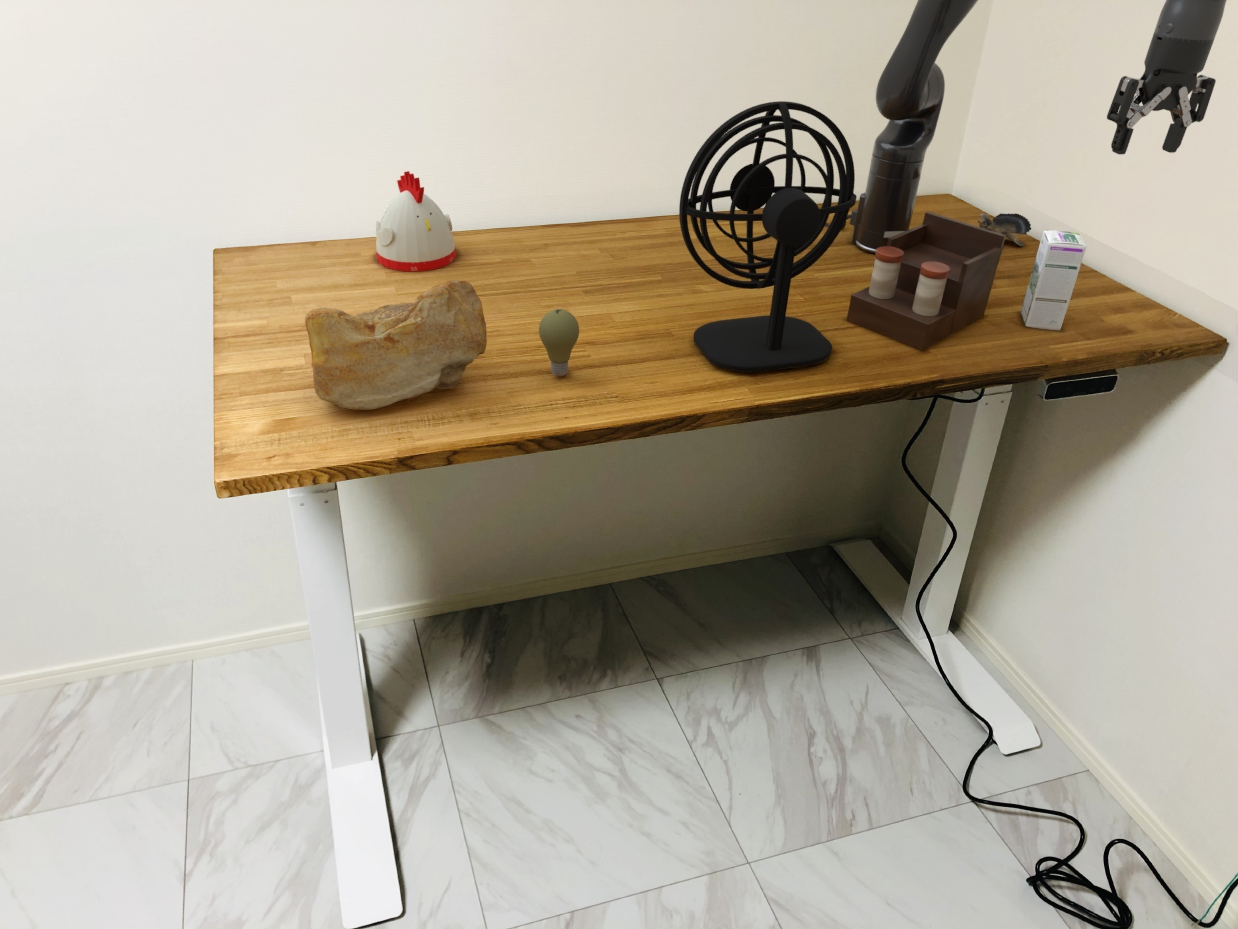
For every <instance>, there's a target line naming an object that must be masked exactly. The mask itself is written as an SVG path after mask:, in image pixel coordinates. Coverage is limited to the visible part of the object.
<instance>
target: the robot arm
mask: <svg viewBox="0 0 1238 929" xmlns="http://www.w3.org/2000/svg"><path fill="white" fill-rule="evenodd" d="M978 1H979V0H917V1H916V4H915V6H914V9H913V11H912V13H911V15H910V18H909V20H908V23H907V24H906V28H905V29H904V31H903V33H902V36H901V37H900V39H899V41H898V43H897V44H896V46H895V48H894V50H893V52H892V54H891V56H890V58H889V59H888V61H887V63H886V65H885V67H884V68H883V70H882V73H881V74H880V77H879V78H878V81H877V84H876V88H875V105H876V108H877V110H878V112H879V113H880V115H881V116H882V117H883V118H885V119H886V120H888V122H887V124H886V126H885V127H884V129H883V130H882V131H881V132H880V133H879V134H878V135H877V136H876V138H875V140H874V143H873V148H872V154H871V158H870V164H869V171H868V176H867V181H866V185H865V192H863V193H861V194H860V195H859V199H858V204H857V209H854V210H852V211H851V214H848V215H847V218H846V220H845V222H844V225H843V227H842V228H841V230H843V229H845V228H846V225H847V220H849V225H851V226H853V232H852V237H851V244H854V245H855V246H856V247H857V248H858V249H860V250H862V251H864V252H866V253H871V254H874V255H875V254H876V249H877V248H879V247H883V246H887V243H888V238H890V237H892V236H895V235H897V234H900V233H902V232H905V231H907V230H910V227H911V223H912V218H913V213H914V209H915V204H916V200H917V195H918V190H919V186H920V180H921V178H922V172H923V167H924V163H925V158H926V153H927V150H928V148H929V147H930V145H931V143H932V142H933V139H934V137H935V134H936V130H937V125H938V121H939V119H940V115H941V110H942V106H943V102H944V98H945V92H946V91H945V89H946V81H945V76H944V73H943V71H942V69H941V67H940V66H939V65H938V63H936V61H937V59H938V57H939V55H940V53H941V51H942V49H943V48H944V45H945V44H946V42H947V41H948V40H949V38H950V37H951V36H952V34H953V33H954V32H955V30H956V29H957V28H958V27H959V25H961V23H962V22H963V21H964V20H965V18H966V17H967V16H968V14H970V12H971V11H972V10H973V9H974V7H975V6H976V5H977V3H978ZM1226 4H1227V0H1165V2H1164V4H1163V6H1162V8H1161V11H1160V13H1159V16H1158V19H1157V22H1156V25H1155V27H1154V31H1153V34H1152V38H1151V40H1150V43H1149V46H1148V49H1147V52H1146V55H1145V58H1144V62H1143V63H1144V72H1143V73H1142V75H1141V77H1140V78H1136V77H1135V78H1134V77H1131V76H1127V75H1124V76H1122V77H1121V78H1120V79H1119V82H1118V85H1117V88H1116V90H1115V93H1114V96H1113V98H1112V100H1111V104H1110V106H1109V109H1108V112H1107V115H1106V119H1107V120H1108V121H1111V122H1113V123H1115V124H1116V129H1115V132H1114V135H1113V138H1112V141H1111V144H1110V148H1111V151H1112V152H1113V153H1115V154H1117V155H1125V154H1126V152H1127V150H1128V147H1129V144H1130V142H1131V139H1132V135H1133V133H1134V130H1135V129H1134V128H1133V127H1134V126H1135V125H1136V124H1137V123H1138V122H1139V121H1140V120H1141V119H1142V118H1145V117H1147V116H1148V115H1149V114H1151V112H1159V111H1162V110H1165V111H1167V112H1169V113H1170V116H1171V120H1172V123H1170V124H1169V127H1168V129H1167V133H1166V135H1165V138H1164V140H1163V144H1162V146H1161V148H1162V151H1164V152H1166V153H1170V154H1175V153H1176V152H1177V150H1178V149H1179V148H1180V146H1182V142H1183V139H1184V137H1185V134H1186V132H1187V129H1188V127H1190V126H1191V124H1194V123H1196V122H1197V123H1200V122H1203V120H1204V119H1205V116H1206V113H1207V110H1208V107H1209V104H1210V101H1211V99H1212V98H1211V97H1212V94H1213V92H1214V88H1215V85H1216V83H1217V81H1216V79H1215V78H1213V77H1210V76H1207V75H1204V74H1199V73H1201V72H1203V71H1204V69H1205V67H1206V63H1207V61H1208V57H1209V56H1210V52H1211V50H1212V47H1213V44H1214V41H1215V38H1216V36H1217V33H1218V31H1219V28H1220V25H1221V22H1222V19H1223V16H1224V12H1225V8H1226ZM1198 74H1199V75H1198ZM1189 94H1190V97H1189V96H1188V95H1189ZM1140 104H1142V105H1140ZM829 225H830V224H828V223H826V224H825V226H824V227H827V228H828V227H829Z"/></svg>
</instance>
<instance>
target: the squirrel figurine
mask: <svg viewBox="0 0 1238 929" xmlns="http://www.w3.org/2000/svg"><path fill="white" fill-rule="evenodd" d="M977 222H978V224H979V227H980V228H984V229H987V230H990V231H994V232H997V233H1000V234H1003V235H1006V237H1005V238H1007V239H1009V240H1011V241H1012V242H1014V244H1016V245H1017V246H1019V247H1024V246H1025V245H1024V243H1022V242H1021V241H1020V240H1019V239H1018V237H1017V236H1016V235H1015V234H1018V235H1027V233H1029V232H1030V231H1031V230H1032V227H1031V226H1032V224H1031V223H1030V221H1029V219H1028V218H1027V217H1025V216H1024V215H1022V214H1020V213H999V214H997V215H996V216H994V217H993V218H992V219H991V218H990V217H989V216H988V214H987V213H981V214H980V220H979V219H977Z"/></svg>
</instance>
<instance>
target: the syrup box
mask: <svg viewBox="0 0 1238 929" xmlns="http://www.w3.org/2000/svg"><path fill="white" fill-rule="evenodd" d="M1086 249H1087V245H1086V243H1085V241H1084V239H1083V238H1082V235H1081V233H1078V232H1073V231H1066V230H1043V232H1042V235H1041V238H1040V242H1039V246H1038V249H1037V252H1036V256H1035V260H1034V263H1033V267H1032V271H1031V273H1030V277H1029V279H1028V280H1029V281H1028V284H1027V288H1026V291H1025V295H1024V298H1023V301H1022V306H1021V309H1020V316H1021V318H1022V321H1023V323H1024V326H1025V327H1028V328H1033V329H1041V330H1050V331H1061V329H1062V326H1063V323H1064V320H1065V317H1066V314H1067V311H1068V308H1069V305H1070V302H1071V298H1072V295H1073V292H1074V289H1075V285H1076V282H1077V278H1078V275H1079V272H1080V269H1081V266H1082V262H1083V259H1084V256H1085V252H1086Z"/></svg>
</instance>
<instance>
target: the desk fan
mask: <svg viewBox="0 0 1238 929" xmlns="http://www.w3.org/2000/svg"><path fill="white" fill-rule="evenodd" d="M777 111H779V113H780V115H779V114H775V113H776V112H777ZM790 111H798V112H801V113H805V114H808V115H811V116H813V117H815V118H816V119H818V120H819V121H820V122H822V123H823V124H824V125H825V126H826V127H827V128H828V129H829V130H830V132H831V133H832V134H833V135H834V137H835V139H836V141H837V143H838V145H839V147H840V150H841V153H842V156H841V154H840V152H839V150H838V149H837V148H836V146H835V144H834V143H833V142H832V141H831V140H830V139H829V138H828V137H827V136H826V135H824V134H823V133H821V132H819V130H817V129H815V128H813V127H810V126H809V125H807V124H806V123H804V122H802V121H800V120H799V119H796V118H794V117H791V114H790ZM763 113H765V114H764V115H761V116H757V115H760V114H763ZM754 116H757V117H754ZM753 117H754V118H753ZM750 118H751V119H750ZM747 119H748V120H747ZM745 120H746V121H745ZM760 124H761V125H760ZM758 125H760V127H758V128H755V129H753V130H751V131H749V132H748V133H746V134H744V135H743V136H742V137H740V138H739V139H737V140H736V141H734V143H733V144H731V145H730V146H729V147H728V148H727V149H726V150H725V151H724V153H722V155H721V156H720V157H719V159H717V161H716V163H715V165H714V166H713V167H712V169H711V171H710V173H709V175H708V177H707V179H706V181H705V184H704V187H703V190H702V192H701V193H702V194H698V193H699V188H700V184H701V182H702V179H703V176H704V174H705V172H706V170H707V168H708V166H709V164H710V163H711V161H712V160H713V159H714V157H715V156H716V154H717V153H718V152H719V151H720V149H721V148H722V147H723V146H724V145H725V144H726V143H727V142H729V141H730V140H731V139H732V138H734V137H735V136H736V135H738V134H740V133H741V132H743V131H745V130H747V129H749V128H751V127H755V126H758ZM779 130H784V139H785V142H784V141H783V140H780V139H778V138H774V137H767V133H770V132H774V131H779ZM793 130H796V131H797V130H798V131H802V132H805V133H808V134H809V135H810V136H811V137H812V138H813V139H814V141H815V142H816V143H817V145H818V148H819V149H820V151H821V153H822V156H823V159H824V162H825V168H826V169H825V170H826V171H825V170H824V169H823V168H822V166H821V165H820V164H818V162H816V161H815V160H813V159H811V158H810V157H808V156H806V155H803V154H800V153H799V154H798V152H797V151H796V150H795V149H794V132H793ZM764 143H774V144H778V145H781V146H783V147H785V153H781V154H777V155H773V156H771V157H769V158H766V159H764V160H763V161H761V156H762V152H763V148H764ZM753 144H756V145H755V149H754V153H753V160H752V163H748V164H746V165H744V166H743V167H742V168H740V169H739V170H738V171H737V172H736V173H735V175H733V178H732V179H731V183H730V186H729V189H724V190H718V191H714V188H715V183H716V181H717V178H718V176H719V174H720V172H721V170H722V169H723V167H724V166H725V165H726V163H727V162H728V161H729V160H730V159H731V157H733V156H734V155H735V154H737V153H738V152H739V151H740V150H742V149H744V148H746V147H749V146H750V145H753ZM831 155H832V156H831ZM832 157H833V159H834V161H835V165H836V168H837V172H838V176H839V177H838V178H839V179H838V180H839V188H835V187H834V186H835V185H834V184H835V172H834V170H835V169H834V164H833V159H832ZM842 157H843V158H842ZM794 159H795V160H796V163H797V165H798V168H799V173H800V185H793V177H794V176H793V173H794ZM781 160H785V176H784V177H785V178H784V185H776V183H775V182H776V181H775V176H774V174H773V172H772V170H771V168H770V167H769V166H768V165H771V163H774V162H777V161H781ZM843 160H844V161H843ZM803 161H806V162H807V163H810V164H811V165H812V166H814V167H815V168H816V169H817V171H818V172H819V174H820V175H821V177H822V179H823V182H824V184H825V187H824V186H811V185H810V186H809V185H807V186H806V184H807V183H806V180H807V179H806V171H805V170H806V169H805V167H804V162H803ZM855 175H856V174H855V163H854V158H853V155H852V151H851V147H850V145H849V143H848V141H847V138H846V136H845V135H844V133H843V132H842V131H841V129H840V128H839V127H838V126H837V124H836V123H835V122H834V121H832V120H831V118H829V117H828V116H827V115H826V114H824V113H822V112H821V111H819V110H817V109H815V108H813V107H811V106H809V105H806V104H803V103H800V102H794V101H786V100H785V101H782V100H781V101H780V100H779V101H770V102H765V103H760V104H756V105H754V106H751V107H748V108H746V109H744V110H741V111H740V112H738V113H736V114H735V115H733V116H731V117H729V118H728V119H727V120H726V121H725V122H723V123H722V124H721V125H719V126H718V127H717V128H716V129H715V130H714V131H713V132H712V133H711V134H710V135H709V136H708V137H707V138H706V140H705V141H704V143H703V144H702V145H701V146H700V148H699V149H698V151H697V152H696V153H695V155H694V157H693V159H692V161H691V163H690V165H689V167H688V169H687V172H686V175H685V177H684V179H683V183H682V187H681V192H680V198H679V206H678V207H679V208H678V209H679V211H678V216H679V224H680V225H679V226H680V231H681V236H682V239H683V242H684V244H685V247H686V249H687V250H688V253H689V255H690V256H691V258H692V259H693V260H694V261H695V263H696V264H697V265H698V266H699V267H700V268H701V269H702V270H703V271H704V272H705V273H706V274H707V275H708V276H710V277H711V278H713V279H714V280H716V281H717V282H720V283H721V284H723V285H726V286H730V287H733V288H737V289H744V290H745V289H746V290H760V289H766V288H770V287H773V290H772V298H771V304H770V313H769V315H757V316H749V317H739V318H731V319H722V320H721V319H720V320H715V321H711V322H707V323H705V324H703V325H700V326H699V327H697V328H696V329H695V331H694V332H693V343H694V344H695V346H696V347H697V348H698V349H699V350H700V352H701V353H702V354H703V355H704V358H706V359H707V361H708V362H710V364H712V365H714V366H715V367H717V368H720V369H724V370H727V371H731V372H736V373H737V372H739V373H763V372H771V371H780V370H786V369H795V368H802V367H808V366H815V365H817V364H820V363H823V362H825V361H827V360H829V358H830V357H831V355H832V352H833V345H832V342H831V341H830V340H829V339H828V338H827V337H826V336H824V334H822V332H820V331H819V330H818V329H817V328H816V327H815V326H814V325H812V324H811V323H810V322H808V321H806V320H804V319H801V318H798V317H793V316H788V315H787V310H788V302H789V295H790V289H791V283H792V282H791V281H792V279H794V278H796V277H797V276H799V275H800V274H802V273H804V272H805V271H806V270H808V269H809V268H810V267H812V266H813V265H814V264H815V263H816V262H817V261H818V260H820V259H821V257H823V255H824V254H825V253H826V252H827V251H828V250H829V248H830V247H831V246H832V244H833V243H834V241H835V240H836V238H837V237H838V236H839V234H840V232H841V231H842V229H841V228H842V227H843V225H844V222H845V220H846V218H847V215H849V212H850V209H851V208H853V207H854V206H855V205H856V202H857V195H856V194H855V193H854V191H855ZM775 185H776V186H775ZM808 194H815V195H816V194H817V195H824V197H823V202H822V205H821V207H819V205H818V204H817V203H816V202H815V200H813V199H812V197H810V196H809V195H808ZM833 196H834V197H838V200H837V203H836V204H835V205H832V203H833ZM723 198H730V200H731V203H730V207H729V212H728V213H727V212H715V211H714V207H713V200H716V199H723ZM697 204H699V209H697ZM762 207H763V210H762V212H761V213H755V211H757V210H759V209H761V208H762ZM736 209H738V210H739V211H742V212H746V213H736ZM831 214H833V217H832V219H831V221H830V223H829V224H828V225H829V227H827V229H826V231H825V232H824V234H823V235H822V236H821V238H820V239H819V240H818V242H817V243H816V244H815V245H814V246H813V247H812V248H811V249H810V250H809V251H808V252H807V253H806V254H804V255H803V256H802V257H800V258H799V259H798V260H796V261H795V262H794V260H795V257H797V256H799V255H800V254H802V253H803V252H804V251H806V250H807V249H808V248H809V247H810V246H812V244H813V243H814V242H816V240H817V239H818V237H819V236H820V235H821V234H822V231H823V230H824V228H825V227H826V226H825V224H827V222H828V219H829V216H830V215H831ZM688 216H689V218H690V222H691V226H692V230H693V232H694V235H695V236H696V239H697V240H698V242H699V243H700V246H702V248H703V249H704V250H705V251H706V252H707V253H708V254H709V255H710V256H711V257H712V258H713V259H714V260H715V261H716V262H717V263H718V264H719V265H720V266H721V267H723V268H724V270H726V271H728V272H729V273H731V274H732V275H735V276H738V277H740V278H744V279H748V280H741V279H740V280H739V279H734V278H730V277H727V276H725V275H722V274H720V273H718V272H717V271H715V270H714V269H712V268H711V267H709V266H708V265H707V264H706V263H705V261H704V260H703V259H702V257H700V255H699V254H698V251H697V249H696V248H695V245H694V243H693V240H692V238H691V234H690V230H689V222H688ZM698 219H699V220H698ZM707 220H711V221H712V222H713V224H714V226H715V227H716V228H717V229H718V230H719V231H720V232H721V233H722V234H723V235H725V236H726V237H727V238H729V239H731V240H734V243H735V245H736V246H737V247H738V248H739V250H741V252H743V253H744V254H745V255H746V260H747V262H738V261H733V260H731V259H727V258H725V257H723V256H721V255H719V254H718V253H717V251H716V249H715V248H714V245H713V244H712V241H711V239H710V236H709V231H708V224H707ZM698 221H699V222H698ZM718 221H723V222H724V221H725V222H729V229H730V233H729V232H727V231H726V230H725V229H724V228H723V227H722V226H721V225H720V223H719V222H718ZM846 221H847V220H846ZM735 222H746V237H740V236H738V235H737V232H736V226H735ZM754 222H761V223H762V226H763V229H764V231H765V232H766V233H765V234H762V235H759V236H755V237H754ZM771 237H772V238H773V239H774V240H775V241H776V245H775V249H774V252H773V257H764V256H763V257H762V256H759V255H756V254H755V253H754V243H755V242H756V243H757V242H760V241H764V240H767V239H770V238H771ZM742 243H746V248H745V247H744V246H743V244H742ZM756 261H757V262H756ZM766 268H769V269H768V271H767V272H757V270H760V269H766ZM745 270H746V271H745Z"/></svg>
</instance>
